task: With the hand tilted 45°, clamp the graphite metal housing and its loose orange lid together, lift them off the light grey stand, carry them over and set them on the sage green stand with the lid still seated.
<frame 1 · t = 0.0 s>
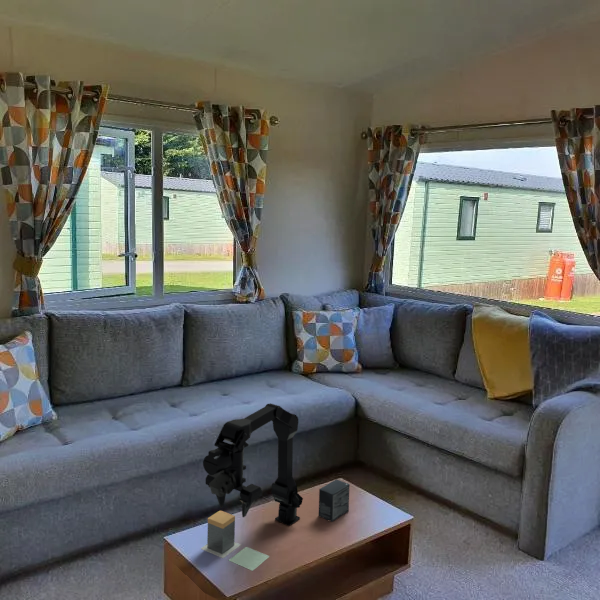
hand: (232, 511, 180), 15 cm above the table, tool pointing down, fingers open, 9 cm apart
stand b: (249, 561, 179), on the table
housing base: (220, 546, 185), point 1 cm above the table, touching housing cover, stand a
small box: (333, 514, 210), on the table
stand a: (220, 549, 185), on the table
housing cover: (221, 521, 184), point 9 cm above the table, touching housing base
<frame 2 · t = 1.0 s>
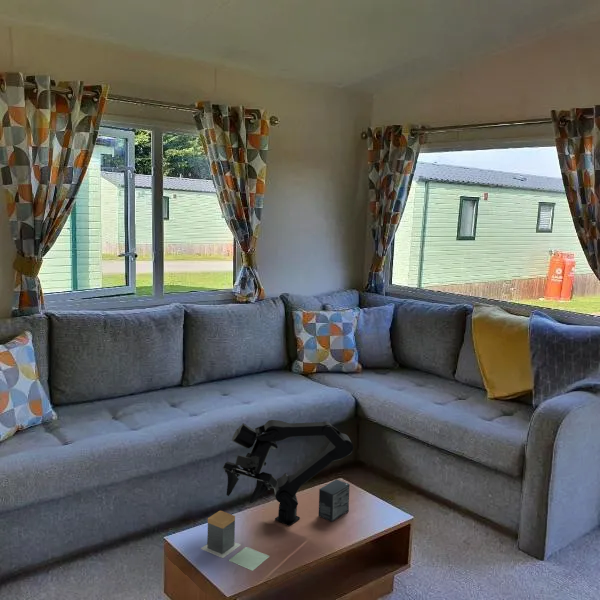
hand: (238, 499, 190), 13 cm above the table, tool tilted 45°, fingers open, 9 cm apart
nothing on the table moved.
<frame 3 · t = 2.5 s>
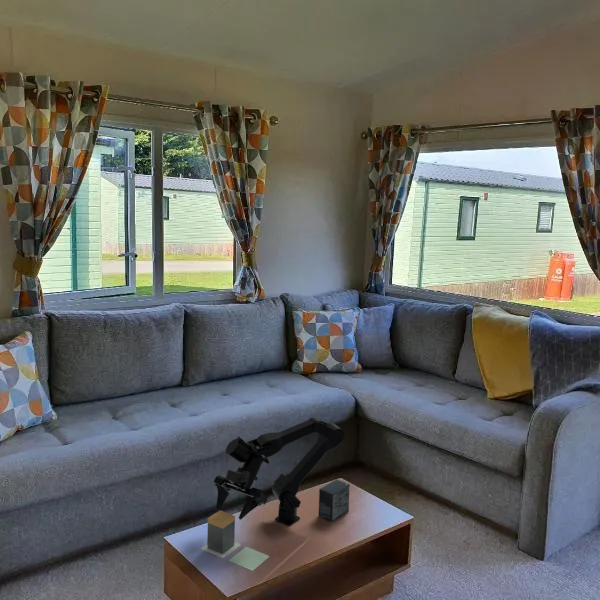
hand: (228, 514, 187), 10 cm above the table, tool tilted 45°, fingers open, 9 cm apart
nothing on the table moved.
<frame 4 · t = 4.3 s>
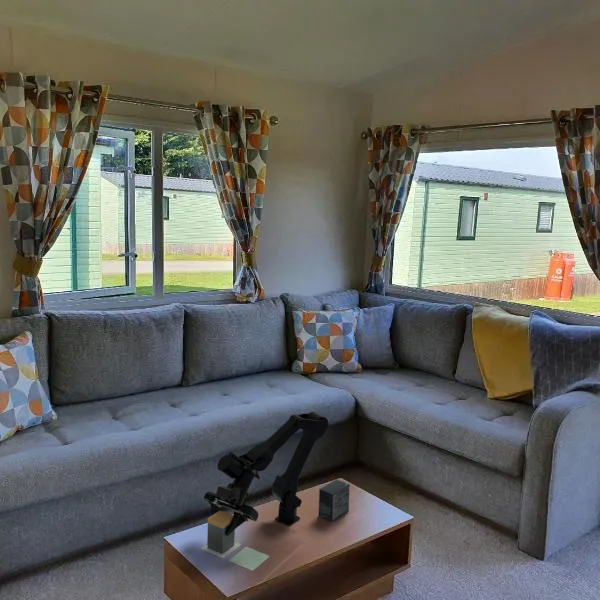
hand: (218, 532, 183), 7 cm above the table, tool tilted 45°, fingers closed on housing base, 6 cm apart
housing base: (220, 546, 185), point 1 cm above the table, touching gripper, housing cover, stand a
everything else where it was.
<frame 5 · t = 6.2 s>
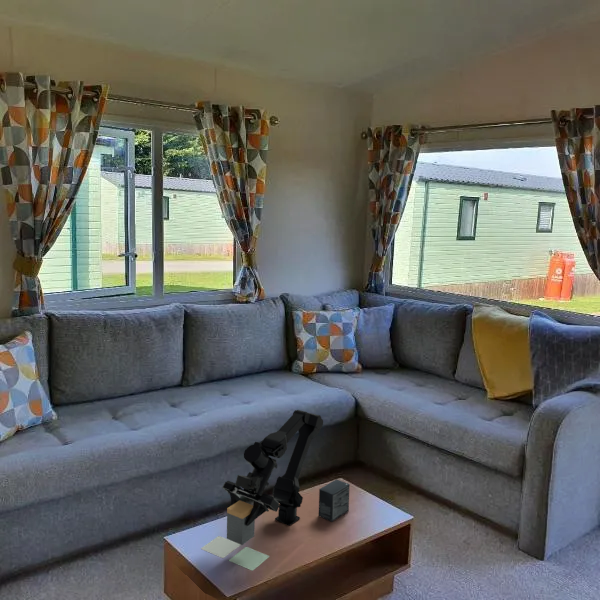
hand: (238, 522, 178), 12 cm above the table, tool tilted 45°, fingers closed on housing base, 6 cm apart
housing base: (240, 537, 180), point 7 cm above the table, touching gripper, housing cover
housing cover: (241, 511, 179), point 15 cm above the table, touching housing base
everything else where it was.
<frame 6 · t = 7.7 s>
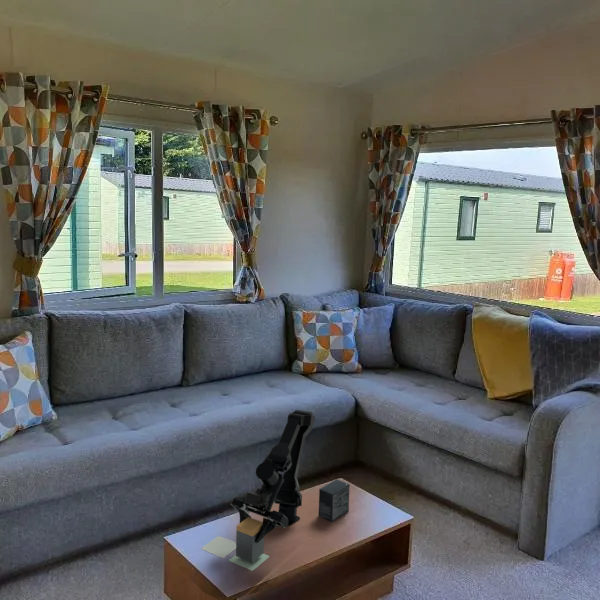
hand: (247, 539, 177), 8 cm above the table, tool tilted 45°, fingers closed on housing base, 6 cm apart
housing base: (249, 554, 179), point 2 cm above the table, touching gripper, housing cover
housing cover: (250, 528, 178), point 11 cm above the table, touching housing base
everything else where it was.
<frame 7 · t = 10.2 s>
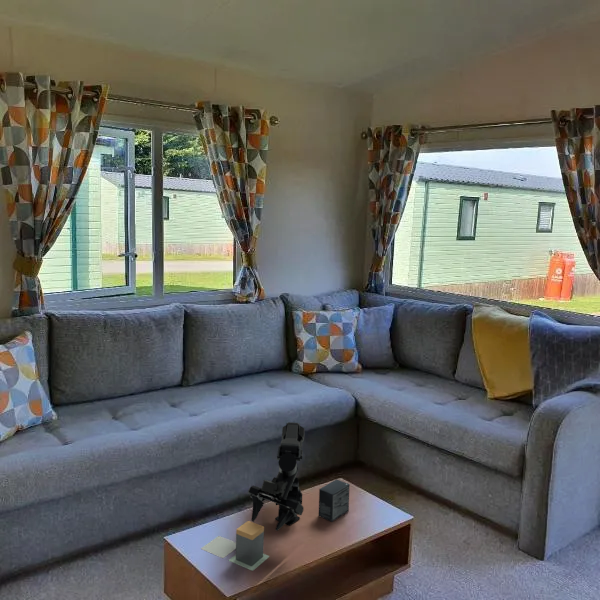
hand: (264, 525, 185), 8 cm above the table, tool tilted 45°, fingers open, 9 cm apart
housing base: (249, 558, 179), point 1 cm above the table, touching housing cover, stand b
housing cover: (250, 532, 178), point 9 cm above the table, touching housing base
everything else where it was.
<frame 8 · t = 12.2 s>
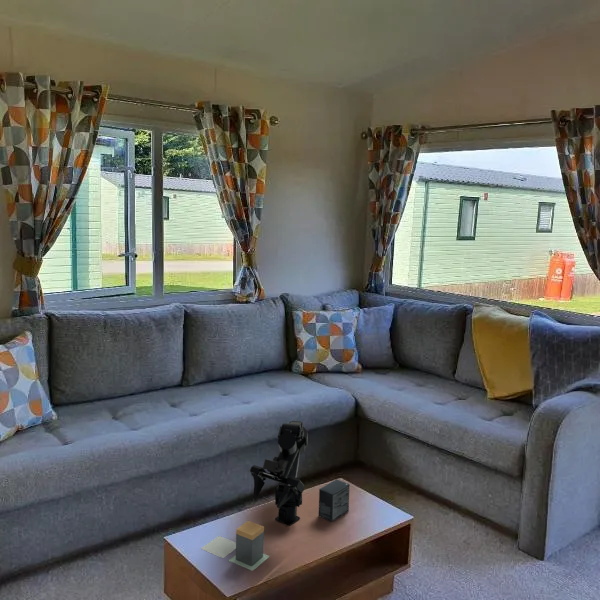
hand: (265, 503, 187), 14 cm above the table, tool tilted 45°, fingers open, 9 cm apart
nothing on the table moved.
at the end: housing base 0.0 cm off-centre on the stand b, point 1.0 cm above the stand b's base; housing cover 0.0 cm off-centre on the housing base, point 8.5 cm above the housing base's base; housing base tilted 0° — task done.
